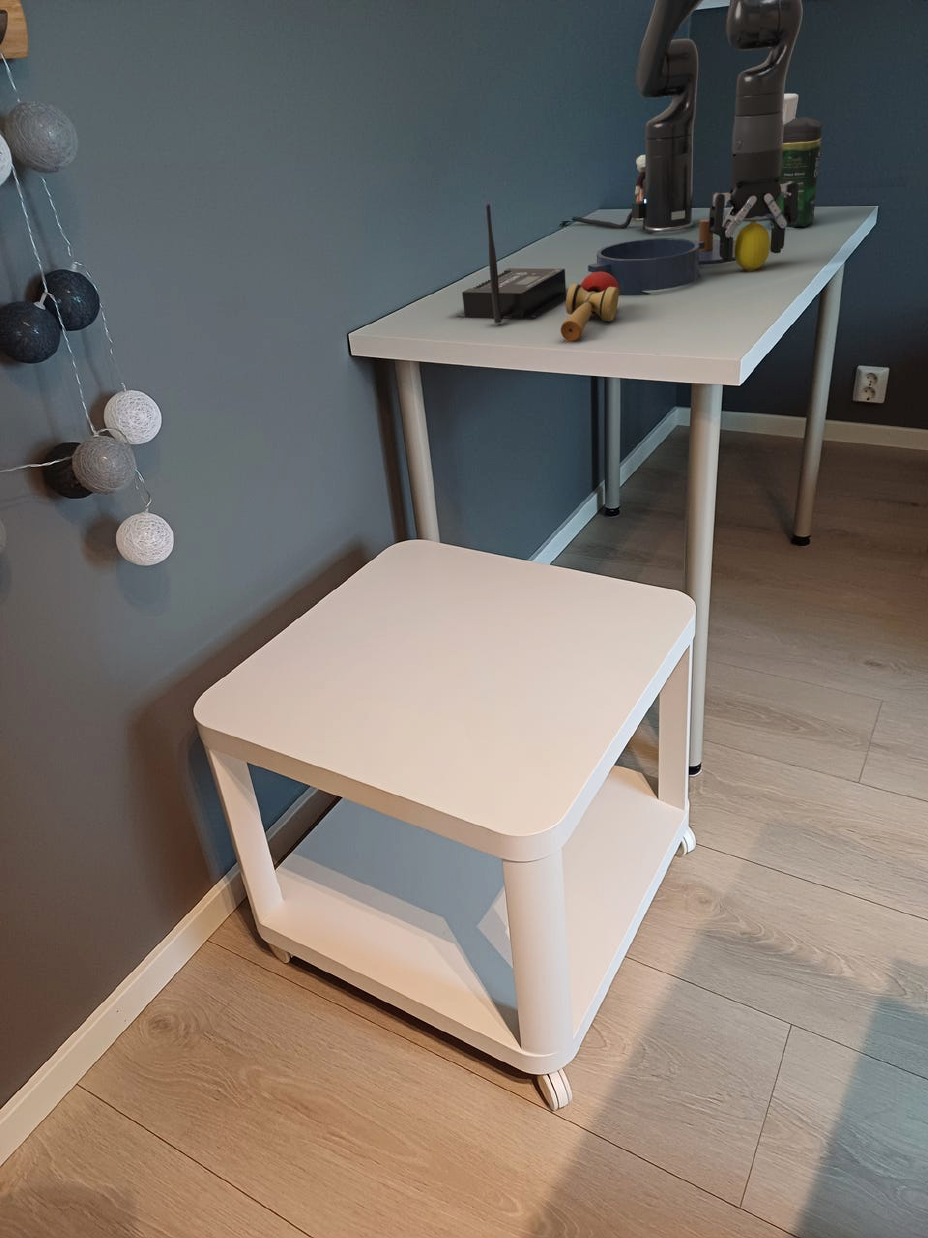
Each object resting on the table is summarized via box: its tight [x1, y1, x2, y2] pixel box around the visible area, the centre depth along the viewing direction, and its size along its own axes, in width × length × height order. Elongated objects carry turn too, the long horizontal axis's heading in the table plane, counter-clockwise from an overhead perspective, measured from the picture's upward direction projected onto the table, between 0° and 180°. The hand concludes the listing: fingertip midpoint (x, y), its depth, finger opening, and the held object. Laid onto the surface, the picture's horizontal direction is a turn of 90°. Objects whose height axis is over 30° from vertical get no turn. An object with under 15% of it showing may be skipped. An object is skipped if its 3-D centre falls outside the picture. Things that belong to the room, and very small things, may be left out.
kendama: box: [560, 271, 620, 342], centre depth 137 cm, size 8×6×18 cm
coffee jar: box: [769, 116, 823, 229], centre depth 180 cm, size 10×8×19 cm
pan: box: [587, 237, 705, 296], centre depth 155 cm, size 16×22×5 cm
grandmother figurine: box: [634, 154, 645, 221], centre depth 203 cm, size 8×4×13 cm, turn 154°
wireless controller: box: [456, 203, 568, 324], centre depth 147 cm, size 20×14×17 cm
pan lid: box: [698, 218, 736, 265], centre depth 167 cm, size 17×17×6 cm
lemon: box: [734, 220, 771, 272], centre depth 153 cm, size 6×6×8 cm
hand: (751, 256), depth 153 cm, fingers open, 8 cm apart
